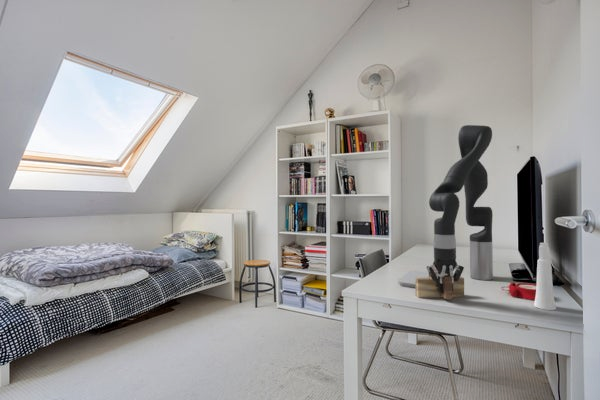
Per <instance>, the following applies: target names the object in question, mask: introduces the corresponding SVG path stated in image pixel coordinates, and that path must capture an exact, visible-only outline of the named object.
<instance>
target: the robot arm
mask: <svg viewBox="0 0 600 400" xmlns="http://www.w3.org/2000/svg"><path fill="white" fill-rule="evenodd" d="M457 138H458V140H457V141H458V147H459V148H458V149H459V153H460V159H459V160H458V161H456V162H454V163H453V165H452V166H451V167H450V168H449V170H448V171H447V173H446V174H445V177H444V179H443V181H442V182H441V183H440V184H439V185H438V186H437V187H436V189H435V190H434V191H433V192H432V193H431V195H430V197H429V200H428V202H429V208H430V209H431V210H432V211H433V212H437V213H438V212H443V214H442V217H439V218H435V219H434V223H433V231H434V234H433V235H434V236H433V258H434V259H433V260H434V261H433V263H432V264H431V265H430V266H429V265H428V266H426V269H427V270H426V271H428V272H429V274H430V276H431V278H432V280H434V281H436V282H437V283H438V291H439V292H440V293H444V288H443V278H444V276H445V274H446V275H449V276H451V277H452V291H453V283H454V282H455V281H458V280H459V278H460V276H461V275H462V274H463V271H464V269H465V267H464V266H463V265H459V264H458V262H457V242H456V239H457V238H456V229H455V227H456V226H455V225H456V224H455V223H456V220H457V216H458V213H459V209H460V199H459V197H458V195H457V193H460V191H462V189H463V187H464V197H465V222H466V224H467V225H468V226H471V227H484V228H483V229H482V230H480V231H478V232H475V233H471V234H470V235H469V276H470V278H471V279H476V280H481V281H492V280H494V264H493V263H494V261H493V257H494V255H493V209H492V208H491V207H490V206H475V204H476V202H478V200H479V199H480V198H481V196H482V195H483V194H484V193H485V192H486V190H487V188H488V186H489V181H488V180H489V179H488V171H487V169H486V168H485V166H484V165H483V163H481V162H480V159H481V158H482V156H483V154H484V153H485V151H486V150H487V149H488V148H489V146H490V144H491V142H492V139H493V130H492V127H490V126H488V125H478V124H477V125H473V124H467V125H463V126H462V127H461V128H460V129H459V132H458V137H457ZM435 269H436V270H437V276H436V274H435V272H434V271H435ZM461 277H462V276H461Z"/></svg>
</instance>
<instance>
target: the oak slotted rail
mask: <svg viewBox="0 0 600 400" xmlns="http://www.w3.org/2000/svg"><path fill="white" fill-rule="evenodd" d="M415 287H416V288H415V296H416V297H417V298H418V299H420V298H423V299H424V298H443V297H442V296H440V295H439V291H438V287H436V281H434V280H432V278H431V277H426V278H415ZM453 297H454V298H455V297H465V277H463V276H460V278H459V280H458V281H455V282H454V283H453V291H452V298H453Z"/></svg>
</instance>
